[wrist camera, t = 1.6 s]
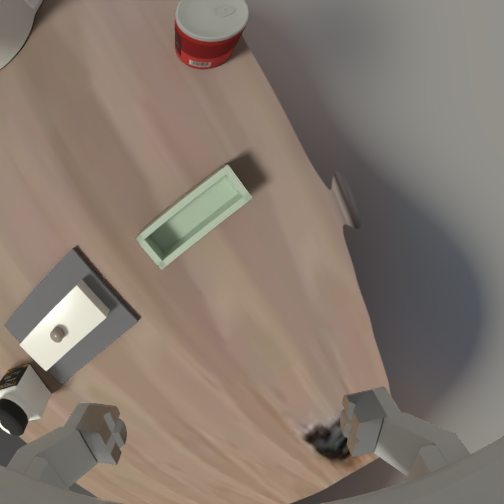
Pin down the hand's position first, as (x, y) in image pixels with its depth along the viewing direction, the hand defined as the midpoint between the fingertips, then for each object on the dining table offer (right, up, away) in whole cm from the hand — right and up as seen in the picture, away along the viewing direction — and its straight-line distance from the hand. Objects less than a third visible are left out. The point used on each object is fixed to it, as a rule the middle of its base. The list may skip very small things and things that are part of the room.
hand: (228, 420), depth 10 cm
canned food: (-6, +34, +26) cm, 43 cm away
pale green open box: (-7, +11, +31) cm, 34 cm away
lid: (-27, -5, +30) cm, 41 cm away
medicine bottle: (-39, -18, +31) cm, 53 cm away
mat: (-28, -5, +31) cm, 42 cm away
